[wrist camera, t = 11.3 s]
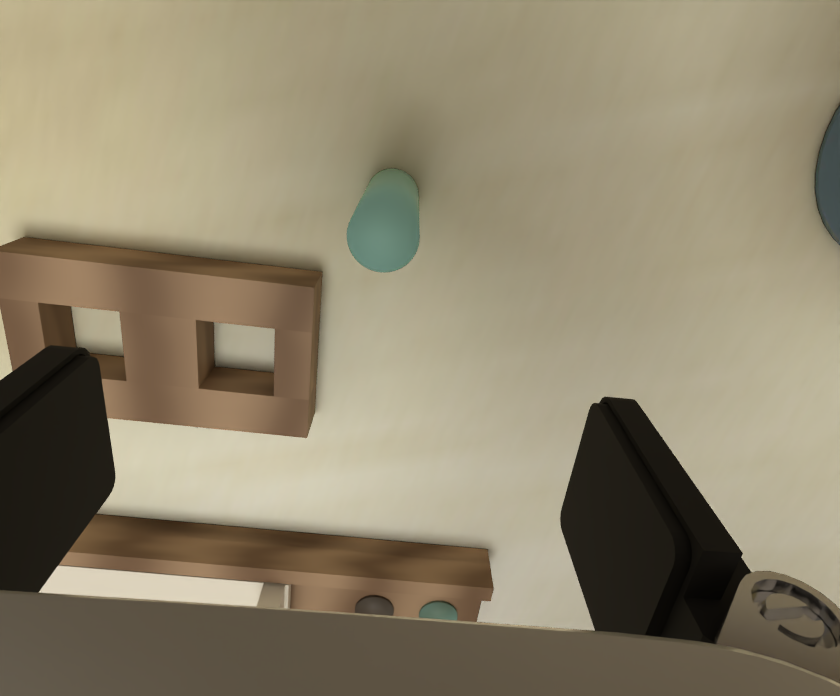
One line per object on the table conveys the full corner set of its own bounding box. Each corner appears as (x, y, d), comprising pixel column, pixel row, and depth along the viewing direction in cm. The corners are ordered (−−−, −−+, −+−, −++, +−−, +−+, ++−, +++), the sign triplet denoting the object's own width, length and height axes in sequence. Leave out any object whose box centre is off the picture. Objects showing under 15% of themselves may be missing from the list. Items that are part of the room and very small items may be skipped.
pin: (421, 171, 26) (424, 205, 18) (415, 224, 27) (414, 276, 19) (368, 165, 25) (349, 195, 18) (364, 218, 26) (344, 268, 19)
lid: (291, 574, 33) (279, 621, 30) (288, 649, 36) (276, 699, 33) (43, 552, 32) (6, 599, 29) (59, 631, 35) (26, 680, 32)
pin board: (322, 271, 27) (314, 287, 25) (314, 413, 31) (307, 437, 29) (24, 237, 27) (-11, 250, 24) (49, 386, 30) (20, 409, 28)
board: (487, 549, 35) (493, 588, 32) (464, 649, 39) (468, 691, 36) (53, 510, 33) (20, 547, 31) (72, 618, 37) (45, 660, 34)
